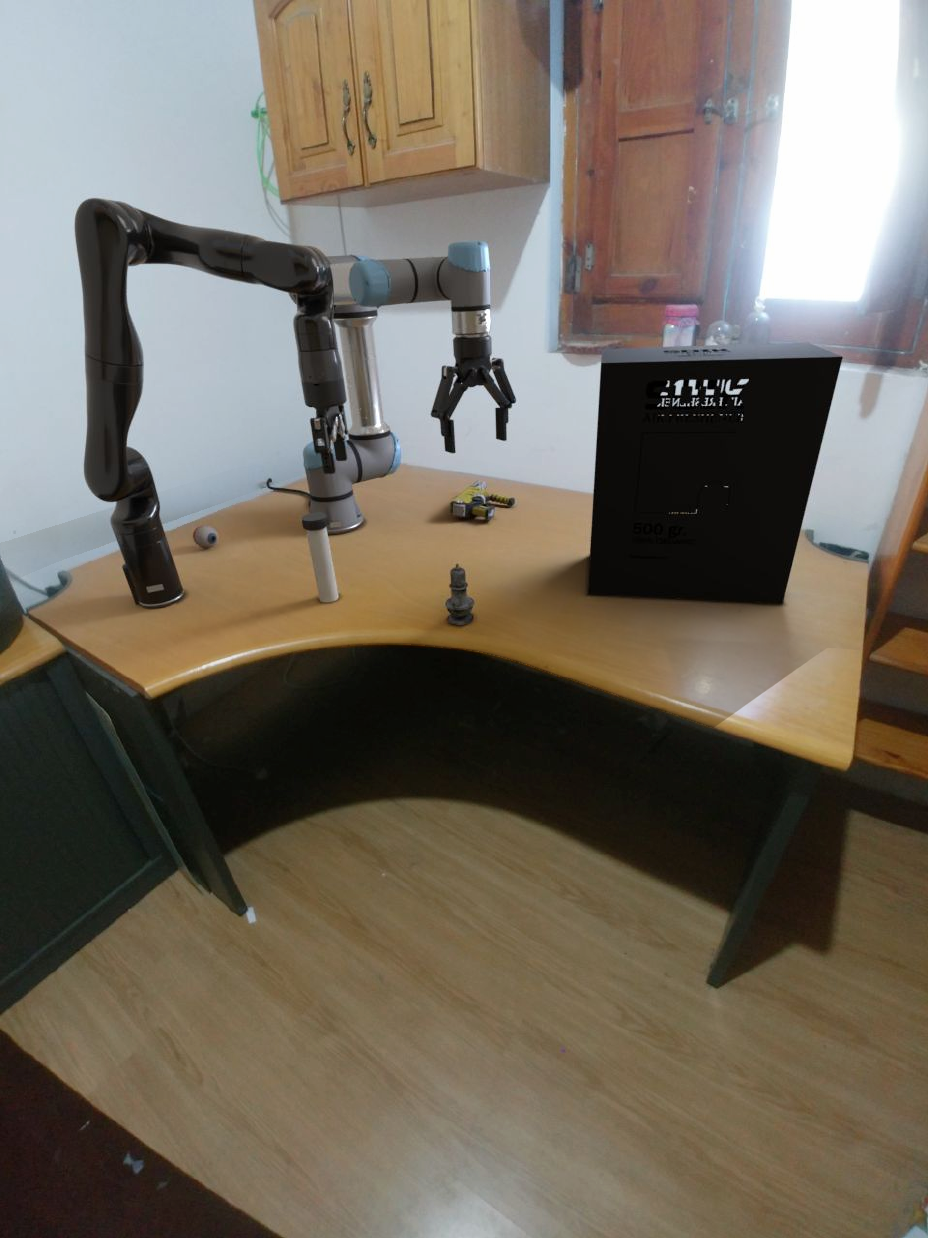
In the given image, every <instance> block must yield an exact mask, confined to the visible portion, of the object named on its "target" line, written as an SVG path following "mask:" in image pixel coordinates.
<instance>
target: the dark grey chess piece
mask: <svg viewBox="0 0 928 1238" xmlns="http://www.w3.org/2000/svg"><path fill="white" fill-rule="evenodd" d="M449 575H450V583H449V585H448V586H449V589H450V594H451V595H450V597H449V598H447V599H446V600H445V601H444V606H445V608H446V610H447V612H448V613H449V615H447V618H446V620H447V622H448V623H450V625H451V624H452V625H453V626H464V625H468V624H470V623H472V622H473V621H474V619H475V616H474V614H473V613H472V611H473V609H474V606H475V600H474V598H472V597H471V596H469V595H468V593H467V592H468V591H467V588H468V586H469V583H467V580H466V570H465V568H463V567H461V566H460V564H459V563H456V564H455V567H453V568H451V570H450V573H449Z"/></svg>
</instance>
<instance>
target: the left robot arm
mask: <svg viewBox="0 0 928 1238" xmlns="http://www.w3.org/2000/svg"><path fill="white" fill-rule="evenodd" d="M73 227H74V239H75V247H76V255H77V261H78V267H79V275H80V280H81V291H82V311H83V325H84V326H83V329H84V373H85V374H84V375H85V386H86V435H85V436H86V438H85V447H84V448H85V449H84V458H83V476H84V480H85V483H86V486H87V488H88V489H89V491H90V492H91V493H92V495H94V496H95V497H96V498H97V499H99V500H101V501H103V502H106V503H115V505H114V510H113V512H112V514H111V516H110V519H109V523H110V526H111V528H112V529H111V530H112V532H113V534H114V537H115V539H116V543H117V544H118V547H119V550H120V553H121V556H122V559H123V561H124V563H123V564H122V566H121V568H122V571H123V574H124V576H125V580H126V582H127V585H128V587H129V590H130V592H131V595H132V598H133V600H134V604H135V605H136V606H140V607H142V608H144V609H159V608H164V607H167V606H171V605H173V604H175V603H177V602H179V601H181V600H182V599H183V598H184V596H185V589H184V587H183V585H182V581H181V579H180V576H179V572H178V570H177V567H176V563H175V560H174V556H173V554H172V551H171V547H170V544H169V542H168V538H167V535H166V532H165V529H164V526H163V522H162V520H161V515H160V511H161V504H160V503H161V502H160V499H159V495H158V491H157V488H156V483H155V480H154V476H153V473H152V470H151V468H150V465H149V463H148V461H147V459H146V458H145V457H144V456H143V455H142V453H141V452H139V451H138V450H137V449H135V448H133V447H132V446H128V436H129V433H130V427H131V426H132V422H133V420H134V417H135V415H136V412H137V410H138V407H139V404H140V402H141V398H142V395H143V390H144V375H145V372H144V371H145V368H144V367H145V366H144V365H145V363H144V362H145V360H144V359H145V357H144V356H145V355H144V349H143V344H142V342H141V338H140V335H139V333H138V331H137V329H136V326H135V323H134V321H133V318H132V316H131V313H130V309H129V302H128V272H129V271H128V270H129V267H136V266H139V265H174V266H180V267H184V268H190V269H193V270H196V271H199V272H202V273H205V274H208V275H210V276H214V277H218V278H221V279H225V280H230V281H234V282H239V283H245V284H249V285H257V286H264V287H267V288H270V289H273V290H277V291H281V292H284V293H288V294H289V293H292V294H296V303H297V305H296V312H295V315H294V316H293V319H292V327H293V328H292V329H293V333H294V334H293V335H294V340H295V344H296V345H295V346H296V350H297V351H296V352H297V366H298V372H299V378H300V383H301V389H302V395H303V400H304V405H305V406H307V408H313V409H314V410H315V417H310V418H309V420H310V421H309V423H310V428H311V429H310V430H311V435H312V436H311V437H312V442H313V443H314V450H315V453H319V454H321V460H322V466H323V472H324V473H325V474H334V473H335V472H336V467H335V460H334V454H333V444H334V450H335V457H336V460H337V461H346V460H347V458H348V457H347V450H346V444H345V441H344V440H347V436H348V429H349V428H348V423H347V416H346V411H345V405H344V404H346V403H347V400H348V399H347V392H346V385H345V384H346V383H345V378H344V371H343V363H342V359H341V355H340V351H339V347H338V337H337V333H336V332H337V331H336V326H335V325H336V324H335V323H334V320H333V311H334V287H333V276H332V271H331V267H330V264H329V261H328V259H327V257H326V256H327V255H326V254H325V252H323V251H322V250H320V249H319V248H317V247H315V246H312V245H302V244H293V243H287V242H280V241H272V240H266V239H264V238H262V237H259V236H256V235H252V234H247V233H242V232H238V231H237V232H236V231H233V230H232V231H231V230H227V229H219V228H212V227H203V226H197V225H196V226H195V225H188V224H184V223H179V222H175V221H172V220H169V219H166V218H163V217H160V216H159V215H158V216H157V215H155V214H152V213H150V212H147V211H145V210H143V209H140V208H137V207H134V206H133V205H131V204H128V203H126V202H123V201H120V200H113V199H106V198H100V197H91V198H90V197H89V198H87V199H85V200H83V201H82V202H80V204H79V206H77V209H76V212H75V215H74V226H73ZM323 442H324V445H325V446H323Z"/></svg>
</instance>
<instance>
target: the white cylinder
mask: <svg viewBox="0 0 928 1238" xmlns="http://www.w3.org/2000/svg"><path fill="white" fill-rule="evenodd" d="M305 531H306V536H307V541H308V547H309V553H310V557H311V562H312V568H313V573H314V579H315V583H316V588H317V593H318V598H319V601H320V602H321V603H324V604H325V603H327V604H329V603H334V602H335V601H338V599H339V596H340V595H339V592H338V584H337V580H336V574H335V568H334V563H333V557H332V551H331V545H330V540H329V535H328V534H327V528H323V529H320V530H314V531H309V530H305Z"/></svg>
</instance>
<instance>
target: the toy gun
mask: <svg viewBox="0 0 928 1238" xmlns="http://www.w3.org/2000/svg"><path fill="white" fill-rule="evenodd" d="M486 487H487V482H486V481H485V480H483V481H482V482H481V480H477V481H476V482H474V483H473V484H472V485H469V486H468V487H467V488H466V489H465V490H463V491H462V492H461V493H460V494H459V495H457V496H456V497H455V498H454V499H453V500H451V502H450V503H449V504H450V505H449V513H450V515H451V516H454V518H458V519H459V518H460V519H461V518H471V517H474V516H477V517H481V518H485V521H487V522H488V521H490V520H491V519H493V518H494V517H495V511H496V509H495V508H496V507H495V506H494V505H492V504H491V505H490V506H489V505H488V504H487V503H489V502H490V501H491V502H492V503H499V504H502V505H507V506H508V507H513V506H514V505H515V503H516V499H515V498H514V497H511V496H509V497H508V496H506V495H505V496H504V495H501V494H497V493H491V495H490V494H489V492H488V491H487V489H485V488H486Z"/></svg>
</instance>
